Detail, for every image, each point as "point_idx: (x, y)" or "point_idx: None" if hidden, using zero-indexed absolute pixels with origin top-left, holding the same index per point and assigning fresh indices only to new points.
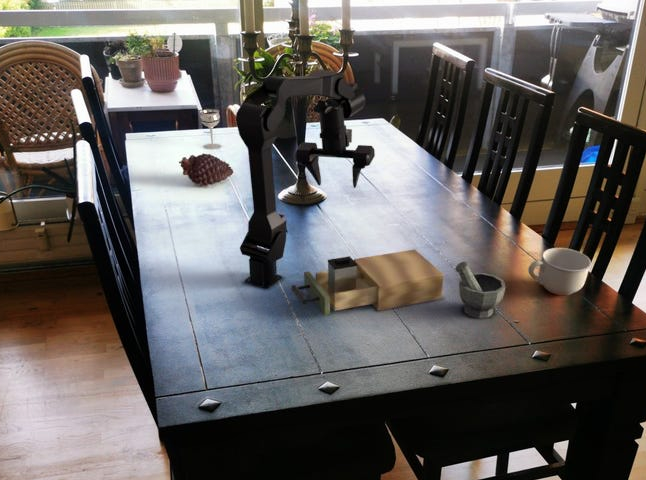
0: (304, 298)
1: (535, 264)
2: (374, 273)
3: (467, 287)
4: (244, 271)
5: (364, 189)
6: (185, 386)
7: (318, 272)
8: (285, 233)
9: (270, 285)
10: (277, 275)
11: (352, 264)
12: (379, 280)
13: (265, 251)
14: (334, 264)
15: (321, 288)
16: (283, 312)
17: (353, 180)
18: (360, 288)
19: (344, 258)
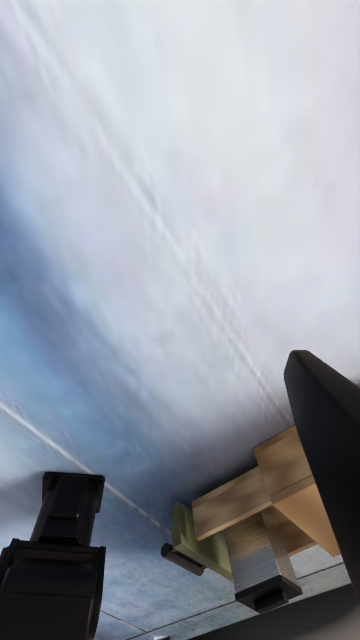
0: (199, 575)
1: None
2: (323, 532)
3: None
4: (11, 475)
5: None
6: (124, 635)
7: (201, 537)
8: (92, 605)
9: (100, 505)
10: (93, 480)
11: (293, 597)
12: (333, 545)
13: (56, 557)
14: (254, 606)
15: (224, 571)
16: (161, 541)
17: (322, 480)
18: None
19: (276, 604)
